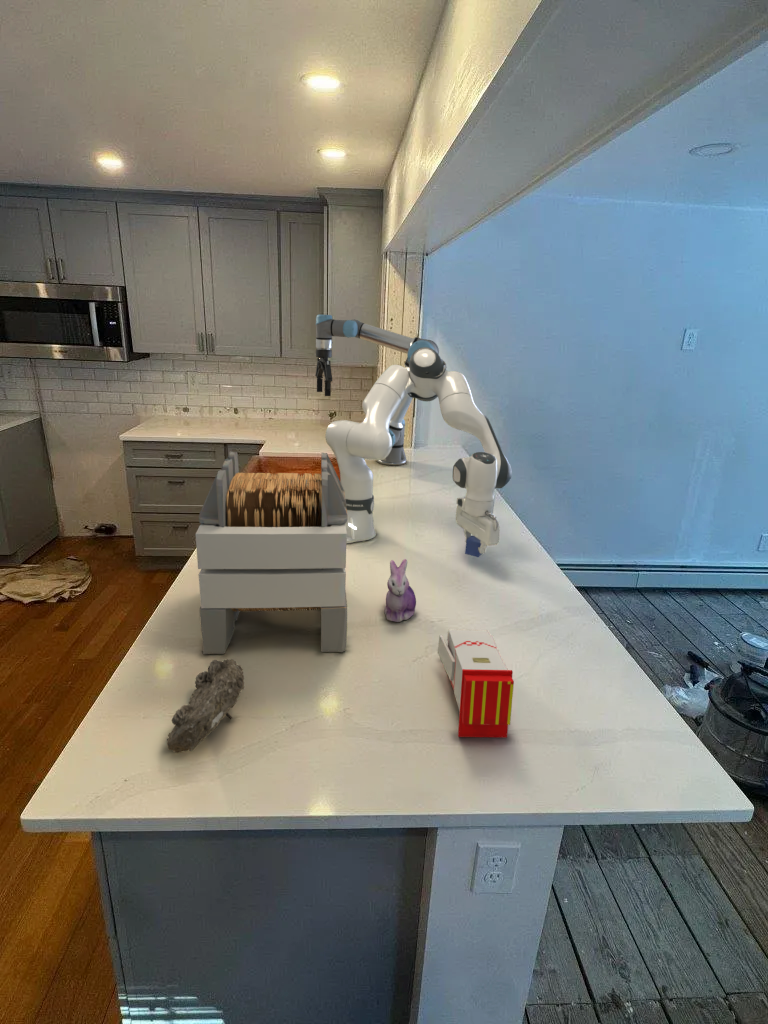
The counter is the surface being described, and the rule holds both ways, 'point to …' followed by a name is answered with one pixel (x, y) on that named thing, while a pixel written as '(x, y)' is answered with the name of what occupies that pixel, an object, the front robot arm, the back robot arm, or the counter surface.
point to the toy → (478, 682)
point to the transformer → (272, 550)
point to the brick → (473, 546)
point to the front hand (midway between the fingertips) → (474, 547)
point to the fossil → (206, 705)
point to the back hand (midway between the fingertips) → (323, 394)
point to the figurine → (399, 594)
